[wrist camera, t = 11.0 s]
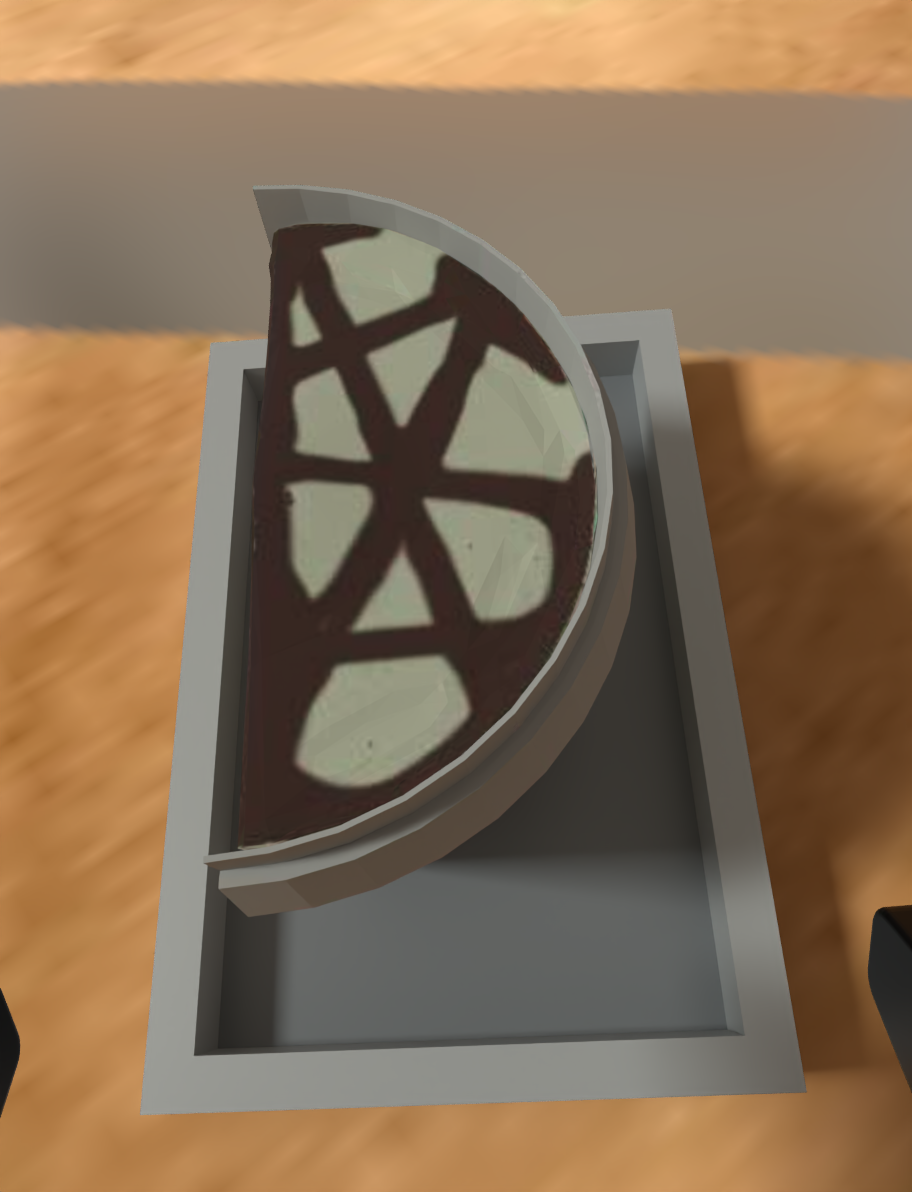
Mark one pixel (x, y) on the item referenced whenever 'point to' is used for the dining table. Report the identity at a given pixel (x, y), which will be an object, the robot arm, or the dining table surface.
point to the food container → (414, 548)
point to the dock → (489, 846)
